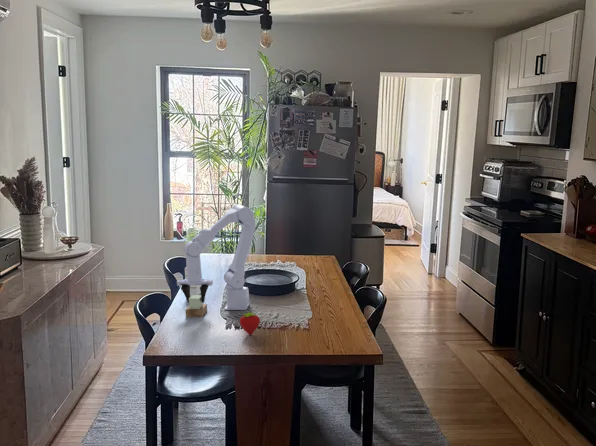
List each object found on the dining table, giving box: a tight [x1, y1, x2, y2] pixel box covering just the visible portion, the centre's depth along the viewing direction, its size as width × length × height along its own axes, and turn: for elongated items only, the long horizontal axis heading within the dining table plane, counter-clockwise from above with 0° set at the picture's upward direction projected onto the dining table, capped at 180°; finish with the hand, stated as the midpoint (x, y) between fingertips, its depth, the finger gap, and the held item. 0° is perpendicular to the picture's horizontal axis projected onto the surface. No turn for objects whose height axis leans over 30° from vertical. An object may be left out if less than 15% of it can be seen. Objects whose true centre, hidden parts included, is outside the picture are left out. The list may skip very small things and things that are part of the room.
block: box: [185, 303, 208, 318], centre depth 214 cm, size 7×7×4 cm
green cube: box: [188, 295, 204, 309], centre depth 213 cm, size 4×4×4 cm
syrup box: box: [184, 266, 203, 297], centre depth 236 cm, size 6×6×14 cm
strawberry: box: [239, 311, 261, 336], centre depth 190 cm, size 6×8×10 cm
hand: (195, 301), depth 213 cm, fingers open, 5 cm apart
